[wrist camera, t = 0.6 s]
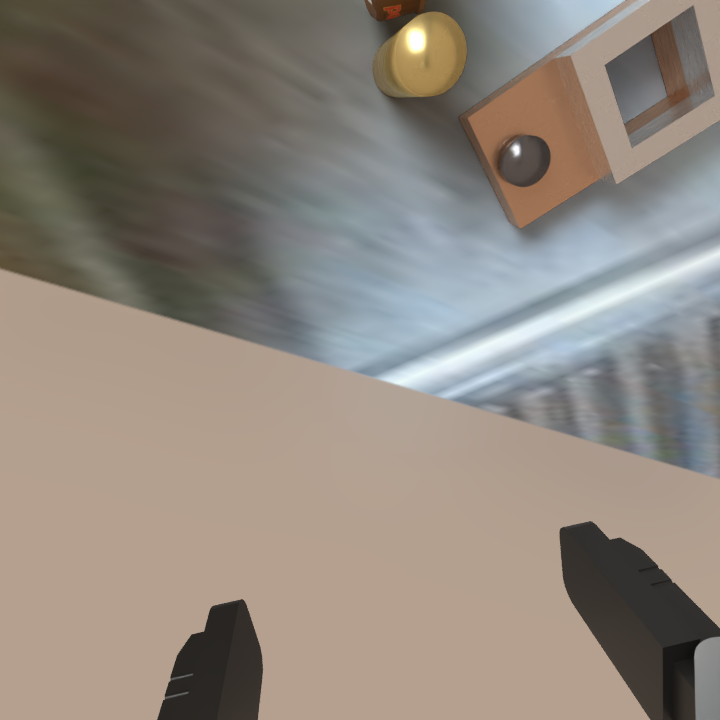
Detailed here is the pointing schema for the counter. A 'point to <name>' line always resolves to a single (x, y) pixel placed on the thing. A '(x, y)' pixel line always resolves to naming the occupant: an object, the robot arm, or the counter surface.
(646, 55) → the counter surface
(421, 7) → the tin
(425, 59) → the pin
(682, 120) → the door latch
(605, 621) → the robot arm
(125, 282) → the counter surface
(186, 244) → the counter surface
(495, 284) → the counter surface
